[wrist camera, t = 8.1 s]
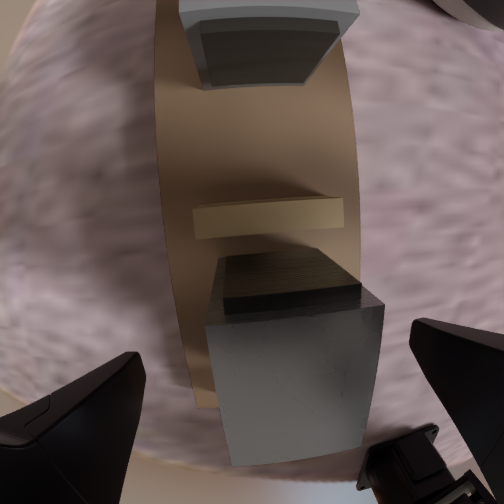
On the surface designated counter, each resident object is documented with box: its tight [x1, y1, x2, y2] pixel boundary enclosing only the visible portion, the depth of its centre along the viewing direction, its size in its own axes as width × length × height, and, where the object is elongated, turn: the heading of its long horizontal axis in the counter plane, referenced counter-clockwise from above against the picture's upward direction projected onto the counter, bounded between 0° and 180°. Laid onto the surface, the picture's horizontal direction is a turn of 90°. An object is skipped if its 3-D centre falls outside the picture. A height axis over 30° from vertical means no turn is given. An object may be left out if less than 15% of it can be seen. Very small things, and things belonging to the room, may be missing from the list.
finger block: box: [205, 248, 385, 467], centre depth 10 cm, size 5×4×6 cm
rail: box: [154, 0, 361, 408], centre depth 9 cm, size 20×8×8 cm, turn 4°
